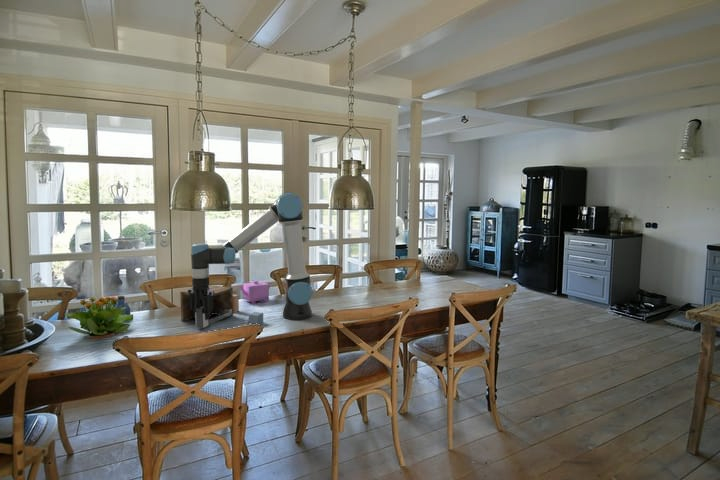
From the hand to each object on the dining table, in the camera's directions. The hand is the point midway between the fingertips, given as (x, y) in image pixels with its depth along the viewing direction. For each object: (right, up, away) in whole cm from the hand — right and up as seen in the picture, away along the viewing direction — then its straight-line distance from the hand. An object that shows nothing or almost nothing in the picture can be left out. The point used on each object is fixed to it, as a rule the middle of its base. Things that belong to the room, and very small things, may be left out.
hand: (202, 325), depth 197 cm
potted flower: (-41, -3, -11) cm, 43 cm away
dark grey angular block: (-1, +1, +11) cm, 11 cm away
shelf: (-4, 0, +18) cm, 18 cm away
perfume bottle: (-45, 0, +13) cm, 47 cm away
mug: (-4, 0, +16) cm, 17 cm away
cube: (+23, -1, +10) cm, 25 cm away
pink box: (+11, +3, +52) cm, 53 cm away
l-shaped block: (0, +2, +32) cm, 32 cm away
